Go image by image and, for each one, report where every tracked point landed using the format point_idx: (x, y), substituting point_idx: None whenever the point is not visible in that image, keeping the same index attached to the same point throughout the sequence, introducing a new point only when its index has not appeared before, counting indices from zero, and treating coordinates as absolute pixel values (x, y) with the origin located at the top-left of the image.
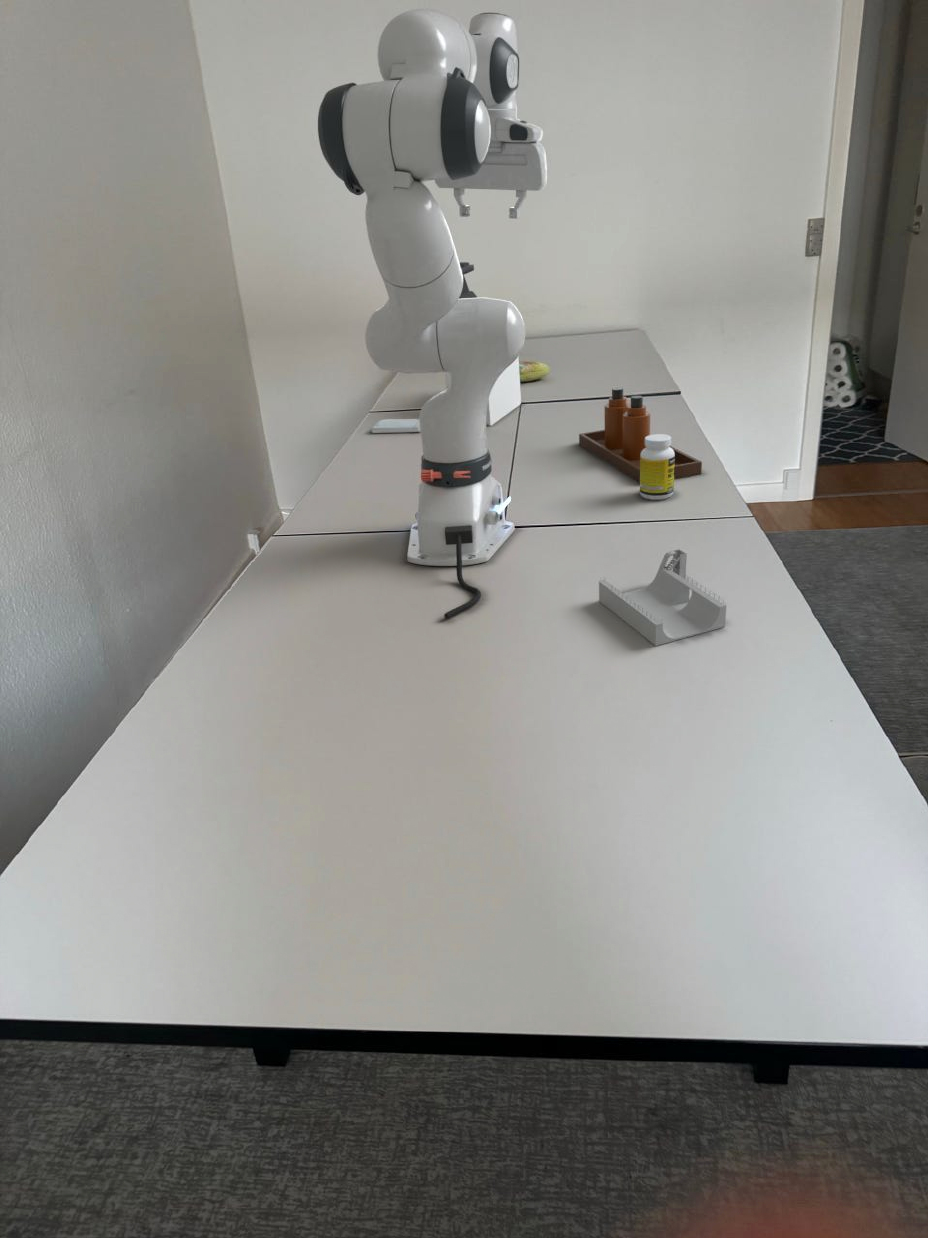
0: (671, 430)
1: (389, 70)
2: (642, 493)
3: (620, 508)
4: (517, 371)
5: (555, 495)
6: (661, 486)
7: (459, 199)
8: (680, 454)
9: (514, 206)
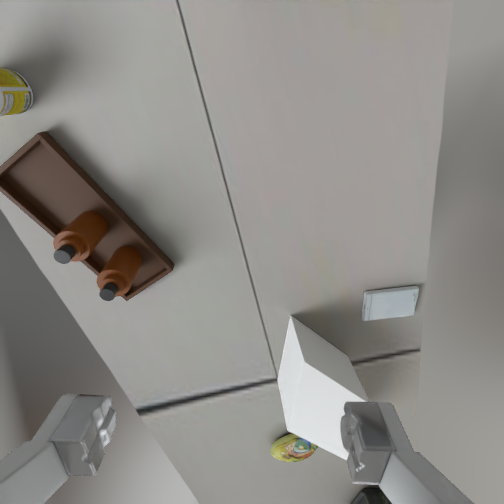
0: (93, 313)
1: None
2: (20, 76)
3: (35, 33)
4: (284, 405)
5: (137, 81)
6: None
7: (433, 490)
8: (27, 208)
9: (43, 447)
